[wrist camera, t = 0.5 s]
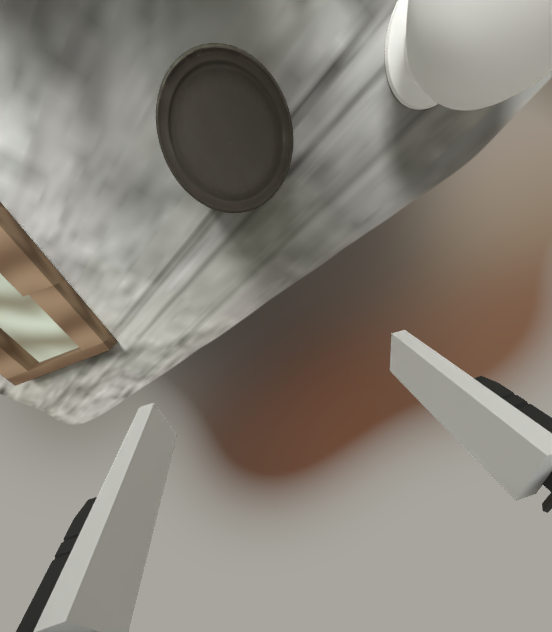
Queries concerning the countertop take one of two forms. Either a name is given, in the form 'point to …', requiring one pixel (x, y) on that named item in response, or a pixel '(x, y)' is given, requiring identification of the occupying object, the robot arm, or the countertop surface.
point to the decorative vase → (466, 51)
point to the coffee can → (224, 128)
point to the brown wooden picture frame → (40, 312)
